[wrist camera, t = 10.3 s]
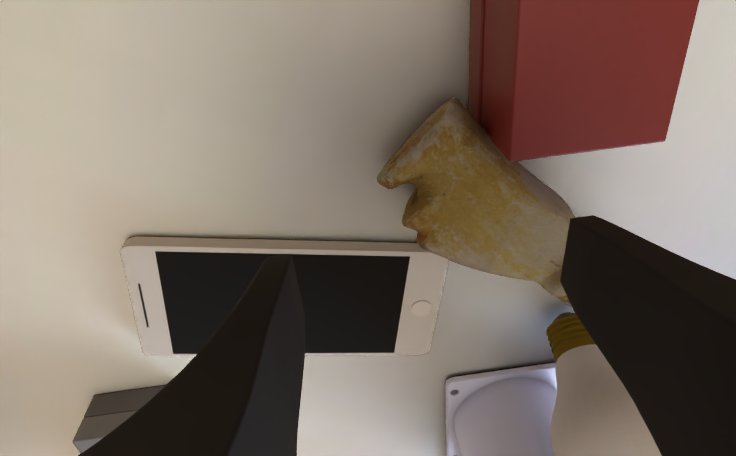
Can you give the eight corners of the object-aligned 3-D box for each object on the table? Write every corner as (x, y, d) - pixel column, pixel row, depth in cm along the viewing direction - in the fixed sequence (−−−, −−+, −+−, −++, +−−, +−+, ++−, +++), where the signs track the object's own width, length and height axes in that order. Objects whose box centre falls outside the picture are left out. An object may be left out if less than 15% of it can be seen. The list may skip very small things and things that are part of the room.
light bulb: (634, 313, 28) (738, 507, 21) (542, 352, 30) (607, 535, 23) (592, 269, 24) (699, 482, 17) (494, 317, 27) (552, 518, 20)
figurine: (346, 213, 20) (586, 391, 24) (409, 165, 16) (698, 395, 19) (397, 132, 23) (608, 303, 26) (464, 69, 18) (712, 288, 21)
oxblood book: (632, 123, 18) (665, 142, 16) (490, 142, 18) (509, 163, 16) (694, -185, 13) (750, -204, 12) (502, -164, 13) (529, -179, 11)
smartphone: (425, 345, 28) (429, 357, 27) (148, 345, 26) (142, 358, 25) (447, 243, 24) (451, 253, 23) (124, 234, 22) (117, 246, 21)
